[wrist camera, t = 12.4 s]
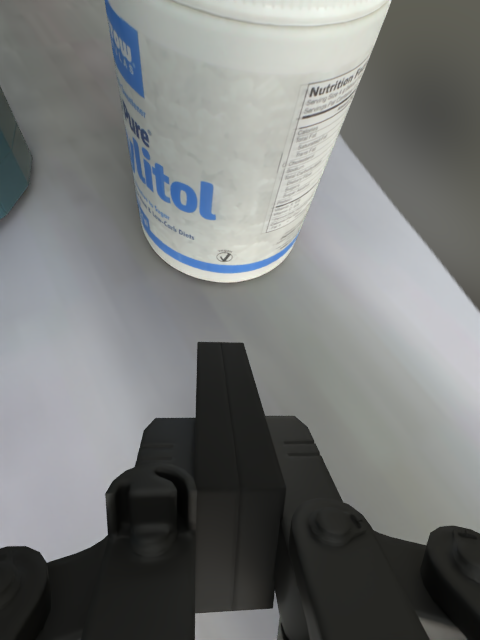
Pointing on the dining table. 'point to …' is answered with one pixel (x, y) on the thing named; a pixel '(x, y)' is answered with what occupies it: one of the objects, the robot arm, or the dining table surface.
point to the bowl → (12, 159)
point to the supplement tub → (234, 119)
